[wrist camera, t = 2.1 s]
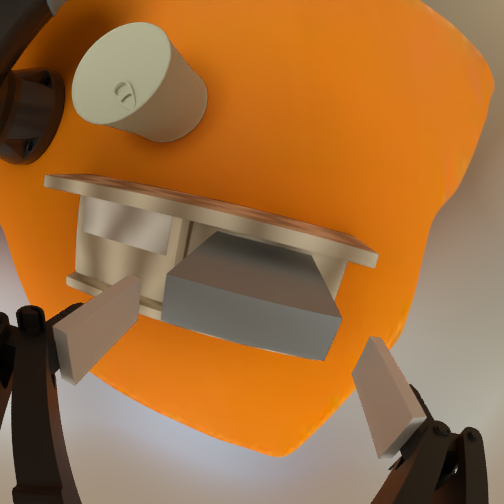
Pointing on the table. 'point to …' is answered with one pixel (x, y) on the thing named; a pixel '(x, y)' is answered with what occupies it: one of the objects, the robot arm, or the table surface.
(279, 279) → the slate board
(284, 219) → the rack
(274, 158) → the table surface
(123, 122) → the can
